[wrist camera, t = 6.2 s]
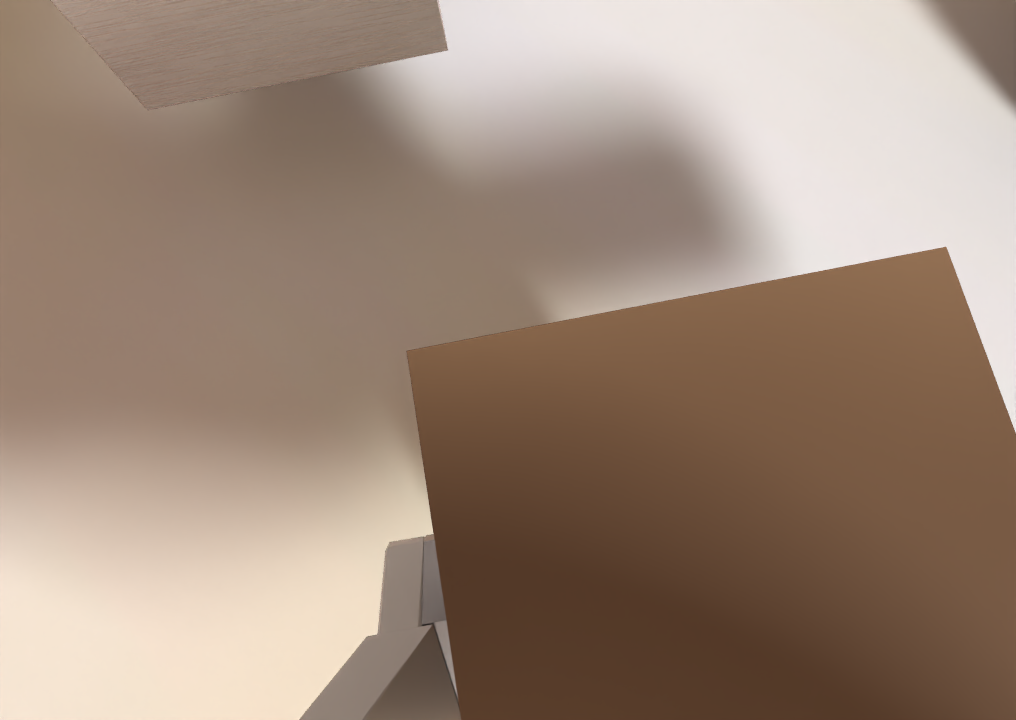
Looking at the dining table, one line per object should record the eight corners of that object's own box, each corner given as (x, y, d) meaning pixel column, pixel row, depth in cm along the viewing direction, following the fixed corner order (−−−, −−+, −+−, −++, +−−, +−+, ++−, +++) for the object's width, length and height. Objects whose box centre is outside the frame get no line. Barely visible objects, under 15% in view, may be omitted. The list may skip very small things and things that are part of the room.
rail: (708, 649, 17) (1175, 867, 4) (550, 677, 18) (500, 989, 4) (670, 490, 18) (946, 245, 5) (521, 518, 19) (406, 350, 5)
